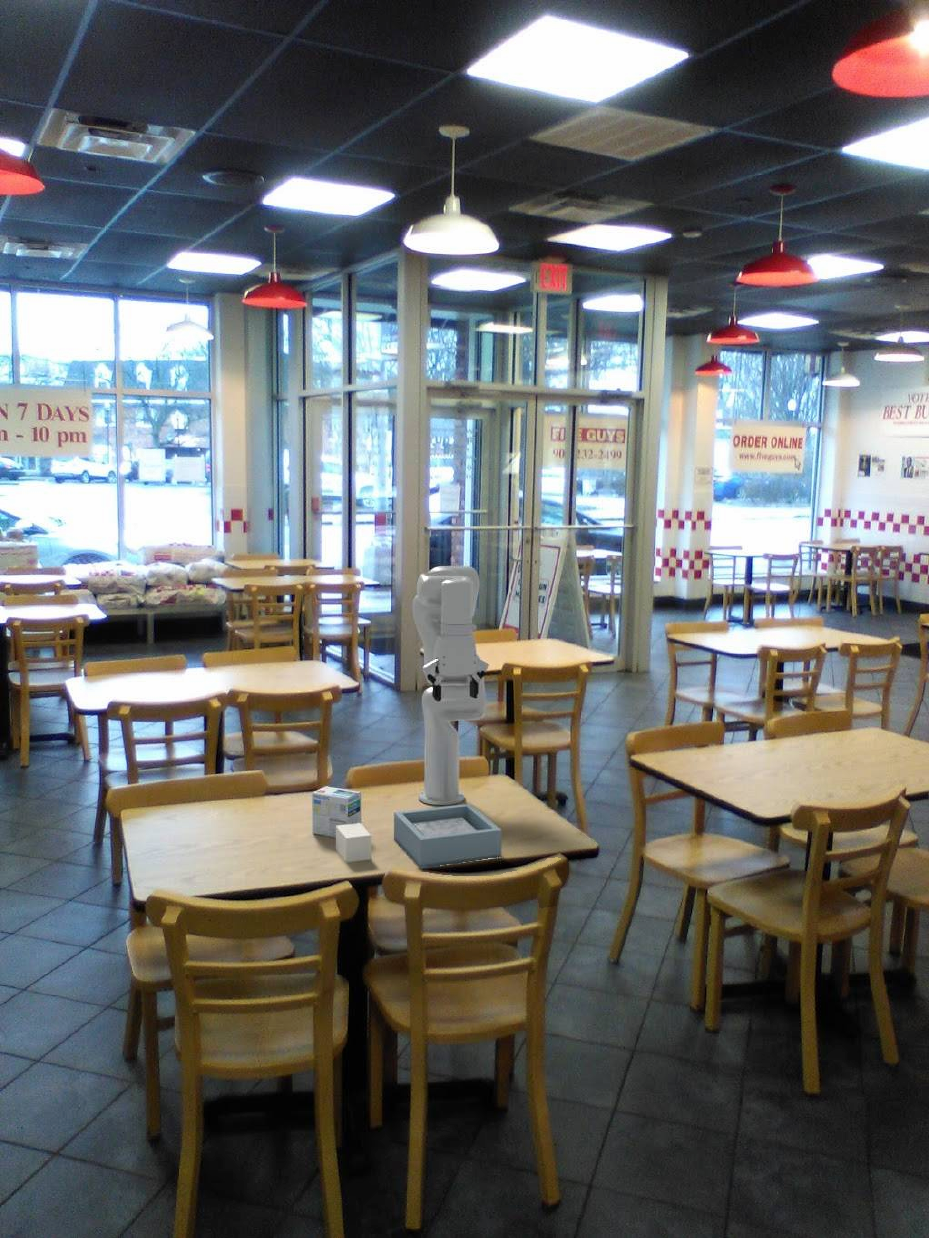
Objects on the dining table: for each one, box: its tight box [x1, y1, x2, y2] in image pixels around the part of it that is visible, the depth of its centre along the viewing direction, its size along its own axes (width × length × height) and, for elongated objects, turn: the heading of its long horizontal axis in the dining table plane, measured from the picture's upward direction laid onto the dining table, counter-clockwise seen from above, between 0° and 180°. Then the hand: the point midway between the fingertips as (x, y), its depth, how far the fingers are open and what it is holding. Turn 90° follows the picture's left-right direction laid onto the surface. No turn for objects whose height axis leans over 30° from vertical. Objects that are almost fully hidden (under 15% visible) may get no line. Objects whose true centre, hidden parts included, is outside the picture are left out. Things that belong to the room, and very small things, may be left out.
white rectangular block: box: [335, 822, 372, 864], centre depth 253 cm, size 9×6×6 cm, turn 22°
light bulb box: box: [311, 785, 362, 839], centre depth 267 cm, size 11×7×11 cm, turn 65°
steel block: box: [412, 817, 477, 837], centre depth 257 cm, size 13×13×4 cm
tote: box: [393, 803, 502, 870], centre depth 257 cm, size 20×20×7 cm
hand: (455, 698), depth 264 cm, fingers open, 9 cm apart
